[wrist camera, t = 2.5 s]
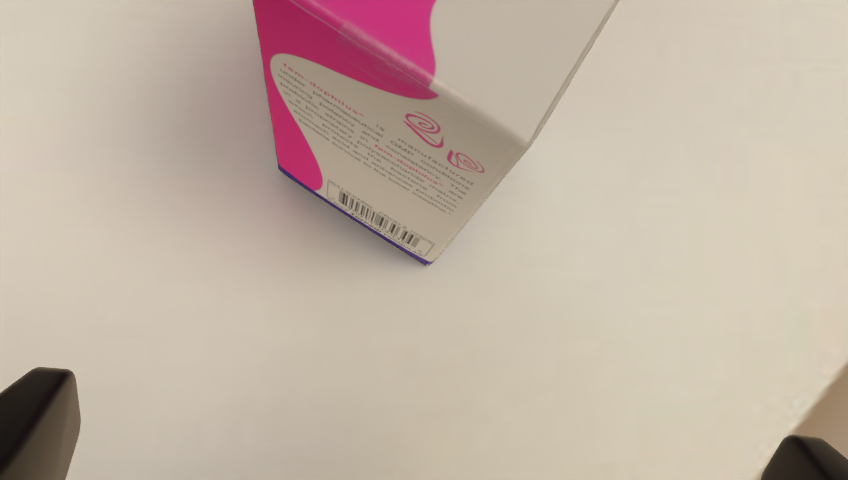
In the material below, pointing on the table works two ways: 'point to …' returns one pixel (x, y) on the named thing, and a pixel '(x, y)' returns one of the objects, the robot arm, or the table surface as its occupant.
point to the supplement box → (415, 101)
